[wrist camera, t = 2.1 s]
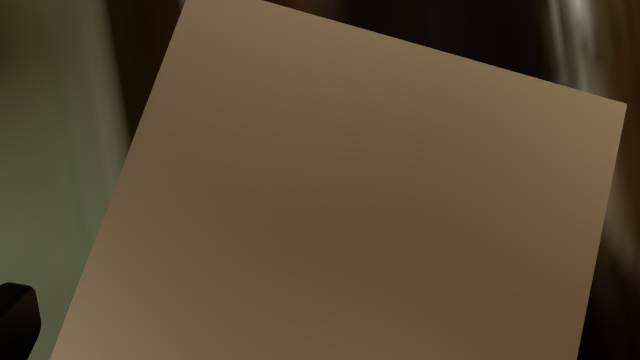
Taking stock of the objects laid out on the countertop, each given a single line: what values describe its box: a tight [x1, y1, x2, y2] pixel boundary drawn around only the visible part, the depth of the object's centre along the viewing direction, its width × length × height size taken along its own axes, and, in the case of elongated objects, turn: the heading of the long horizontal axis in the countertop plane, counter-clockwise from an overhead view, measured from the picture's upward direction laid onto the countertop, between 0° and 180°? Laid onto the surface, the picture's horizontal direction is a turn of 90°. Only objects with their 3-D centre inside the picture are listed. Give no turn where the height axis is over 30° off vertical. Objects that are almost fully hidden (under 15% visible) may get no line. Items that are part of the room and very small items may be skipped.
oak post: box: [50, 0, 627, 360], centre depth 12 cm, size 4×4×13 cm
